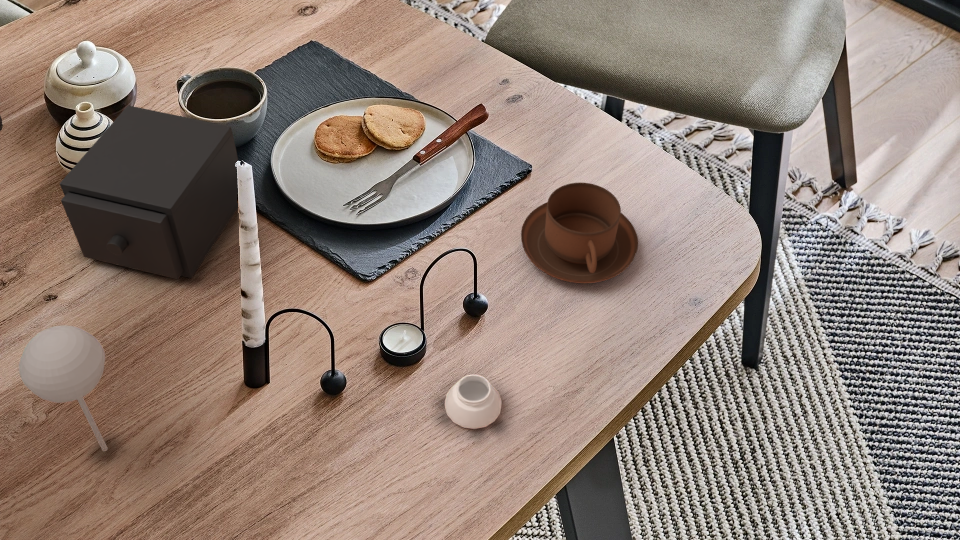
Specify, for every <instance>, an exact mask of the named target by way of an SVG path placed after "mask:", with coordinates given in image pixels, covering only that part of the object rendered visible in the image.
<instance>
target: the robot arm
mask: <svg viewBox="0 0 960 540" xmlns="http://www.w3.org/2000/svg"><path fill="white" fill-rule="evenodd" d="M3 128H4V124H3V119H2V115H0V132H1V131H2V130H3Z"/></svg>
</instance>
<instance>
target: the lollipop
mask: <svg viewBox="0 0 960 540" xmlns="http://www.w3.org/2000/svg"><path fill="white" fill-rule="evenodd" d="M105 363H106V352H105V349H104V347H103V345H102V343H101V342H100V341H99V340H98V338H97V337H96V336H94V335H93V334H92V333H90V332H88V331H87V330H86V329H83V328H80V327H79V326H74V325H67V324H66V325H65V324H63V325H53V326H50V327H47V328H45V329H43V330H40V331H39V332H38V333H36V334H35V335H34V336H33V337H32V338H31V339H30V340H29V341H28V342H27V343H26V345H25V347H24V348H23V351H22V354H21V356H20V359H19V362H18V373H19V377H20V379H21V381H22V383H23V385H24V386H25V387H26V388H27V389H28V390H29V391H30V392H32V393H33V394H34V395H35V396H37V397H38V398H40V399H41V400H44V401H48V402H51V403H57V404H63V403H71V402H75V401H77V402H78V404H79V406H80V408H81V411H82V412H83V415H84V416H85V418H86V420H87V422H88V424H89V426H90V428H91V430H92V432H93V435H94V437H95V439H96V441H97V443H98V444H99V446H100V449H101V451H102V452H107V451H108V449H109V448H108V446H107V443H106V441H105V439H104V437H103V435H102V433H101V431H100V429H99V427H98V425H97V423H96V421H95V419H94V417H93V415H92V413H91V411H90V409H89V407H88V405H87V402H86V400H85V399H84V397H86V396H87V395H88V394H89V393H91V392H92V391H93V390H94V389H95V388H96V387H97V386H98V384H99V383H100V381H101V378H102V376H103V374H104V370H105Z"/></svg>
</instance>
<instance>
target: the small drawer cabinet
mask: <svg viewBox="0 0 960 540" xmlns="http://www.w3.org/2000/svg"><path fill="white" fill-rule="evenodd" d="M237 161H239V156H238V152H237V148H236V142H235V138H234V134H233V129H232V126H230V125H225V124H221V123H220V124H219V123H215V122H210V121H206V120H200V119H196V118H192V117H187V116H183V115H177V114H172V113H167V112H163V111H158V110H153V109H148V108H143V107H138V106H133V105H127V106H126V107H125V108H124V109H123V111H121V113H119V115H118V116H117V117H116V118H115V119H114V121H112V123H111V124H110V125H109V127H107V129H105V131H104V132H103V133H102V134H101V135H100V137H99V138H98V139H97V140H96V141H95V142H94V144H93V145H92V146H91V147H90V148H89V149H88V150H87V151H86V153H85V154H84V155H83V156H82V157H81V158H80V159H79V161H78V162H77V163H76V164H75V165H74V166H73V168H72V169H71V170H70V171H68V173H67V174H66V176H64V178H63V179H62V180H61V181H60V182H59V186H60V189H61V190H62V192H63V197H64V196H65V195H66V194H67V192H69V193H74V194H78V195H82V196H86V195H88V196H92V197H97V198H101V199H105V200H110V201H114V202H119V203H123V204H127V205H132V206H136V207H141V208H145V209H149V210H154V211H158V212H162V213H165V214H166V215H167V217H168V221H169V224H170V227H171V231H172V234H173V237H174V241H175V244H176V247H177V250H178V254H179V257H180V260H181V264H182V267H183V270H184V271H183V273H182V274H181V276H180V277H185V278H189V279H192V278H193V276H195V274H196V273H197V271H198V269H199V268H200V266H201V264H202V263H203V261H204V260H205V259H206V258H207V255H208V254H209V252H210V251H211V249H212V248H213V247H214V245H215V243H216V242H217V241H218V239H219V237H220V236H221V235H222V233H223V231H224V230H225V229H226V227H227V226H228V224H229V222H230V221H231V220H232V218H233V216H234V215H235V213H236V212H237V211H238V210H239V207H238V203H237V175H236V167H235V163H236V162H237Z"/></svg>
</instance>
